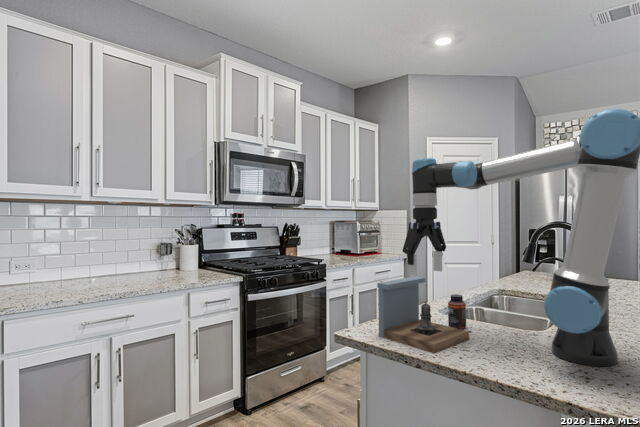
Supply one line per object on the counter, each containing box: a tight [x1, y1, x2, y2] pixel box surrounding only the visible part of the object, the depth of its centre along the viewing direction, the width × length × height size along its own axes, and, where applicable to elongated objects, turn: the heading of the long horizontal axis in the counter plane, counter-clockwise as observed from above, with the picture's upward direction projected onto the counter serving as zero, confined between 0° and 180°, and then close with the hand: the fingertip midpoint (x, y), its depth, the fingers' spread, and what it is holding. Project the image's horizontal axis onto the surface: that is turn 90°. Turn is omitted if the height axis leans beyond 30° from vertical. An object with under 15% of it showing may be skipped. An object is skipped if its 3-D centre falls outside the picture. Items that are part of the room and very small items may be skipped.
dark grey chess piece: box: [417, 301, 435, 336], centre depth 125 cm, size 6×6×12 cm
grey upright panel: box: [376, 276, 426, 339], centre depth 132 cm, size 4×20×18 cm, turn 130°
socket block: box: [383, 319, 470, 354], centre depth 125 cm, size 19×19×2 cm
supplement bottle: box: [447, 293, 467, 330], centre depth 137 cm, size 6×6×11 cm
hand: (425, 273), depth 125 cm, fingers open, 13 cm apart
